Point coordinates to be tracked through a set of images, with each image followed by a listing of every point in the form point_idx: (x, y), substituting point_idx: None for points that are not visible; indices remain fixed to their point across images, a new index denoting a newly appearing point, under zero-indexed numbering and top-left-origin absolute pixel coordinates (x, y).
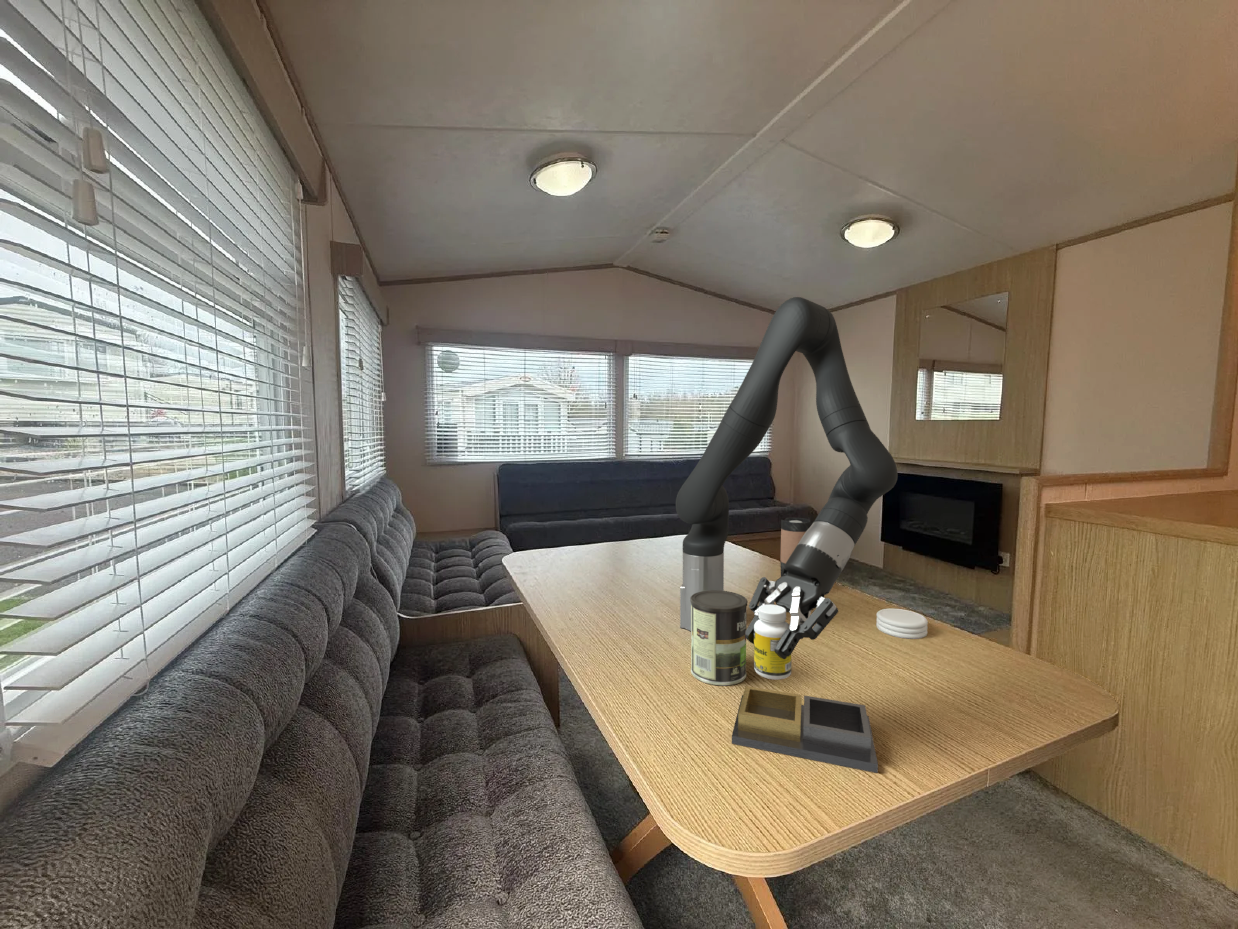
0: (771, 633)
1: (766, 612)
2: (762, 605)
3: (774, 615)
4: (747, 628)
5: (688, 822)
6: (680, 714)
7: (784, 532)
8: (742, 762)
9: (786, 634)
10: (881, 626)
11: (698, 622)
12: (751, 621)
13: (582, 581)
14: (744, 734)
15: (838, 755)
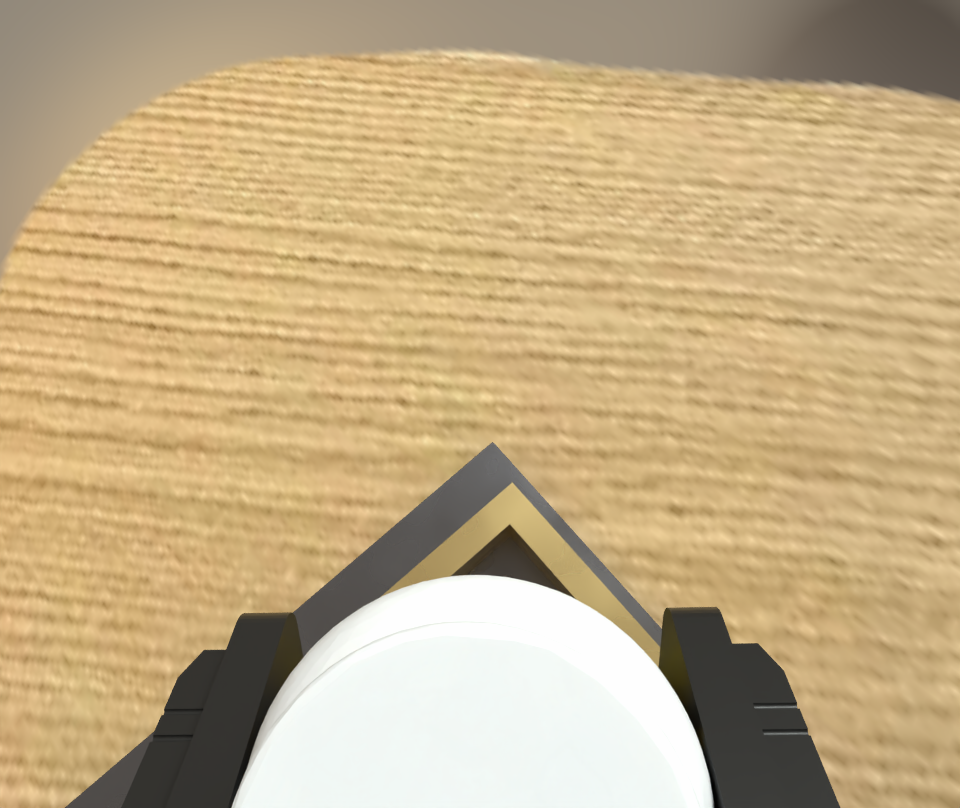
0: (326, 637)
1: (395, 652)
2: None
3: (278, 721)
4: (786, 692)
5: (252, 80)
6: (800, 389)
7: None
8: (374, 408)
9: (194, 779)
10: None
11: None
12: (826, 776)
13: None
14: (470, 500)
15: (112, 776)
